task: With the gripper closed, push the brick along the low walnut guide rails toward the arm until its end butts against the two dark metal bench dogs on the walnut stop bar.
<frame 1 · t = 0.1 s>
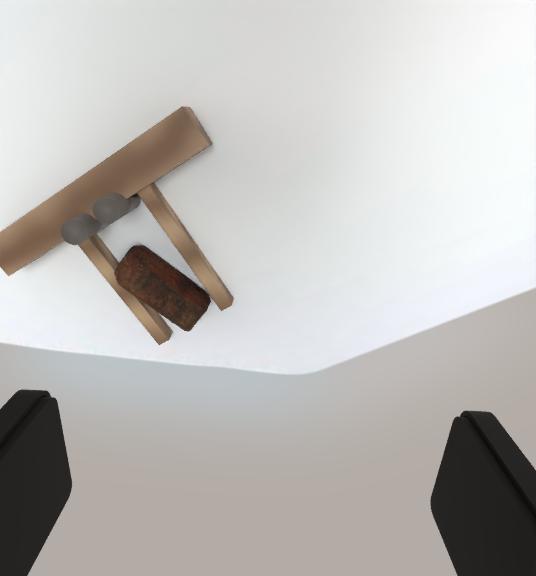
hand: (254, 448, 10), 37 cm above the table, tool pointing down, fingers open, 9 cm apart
brick: (168, 279, 48), on the table
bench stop: (103, 191, 44), on the table
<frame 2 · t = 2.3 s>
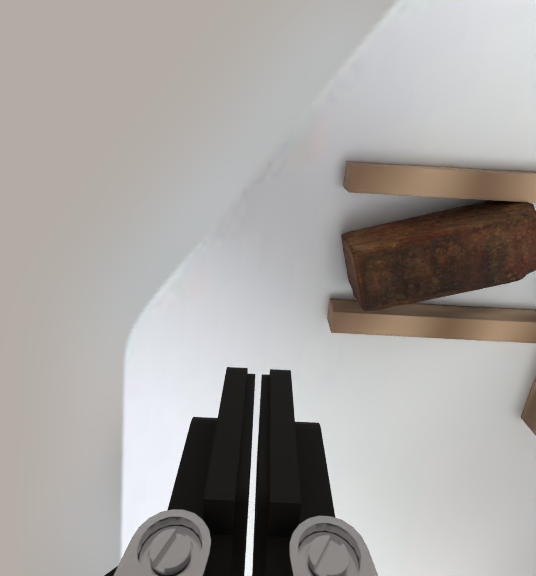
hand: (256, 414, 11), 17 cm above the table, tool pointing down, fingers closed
brick: (423, 241, 27), on the table
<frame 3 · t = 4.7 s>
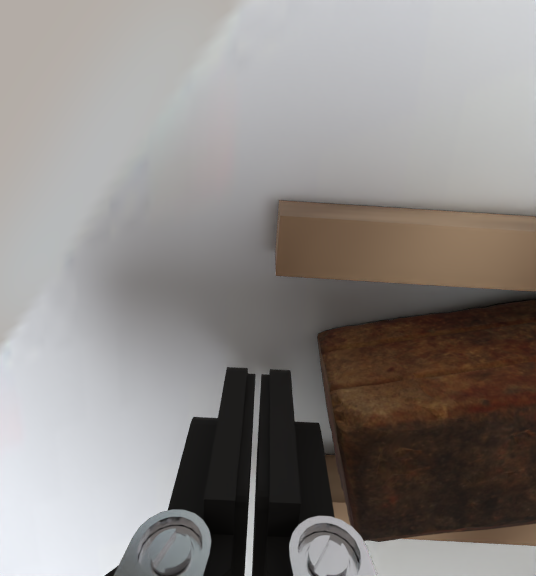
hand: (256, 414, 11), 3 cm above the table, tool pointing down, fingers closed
brick: (480, 351, 13), on the table, touching gripper
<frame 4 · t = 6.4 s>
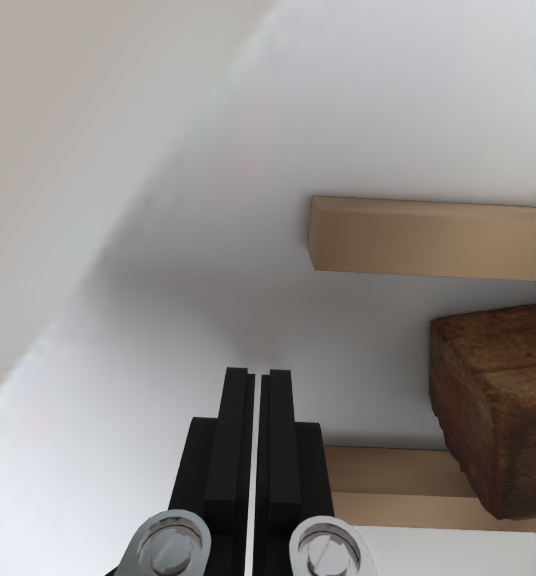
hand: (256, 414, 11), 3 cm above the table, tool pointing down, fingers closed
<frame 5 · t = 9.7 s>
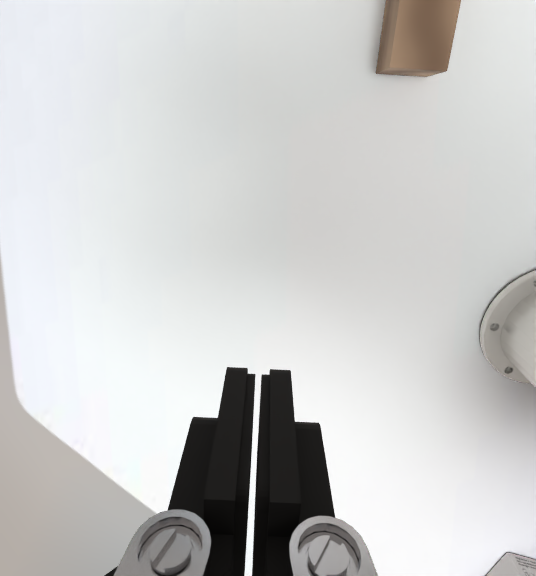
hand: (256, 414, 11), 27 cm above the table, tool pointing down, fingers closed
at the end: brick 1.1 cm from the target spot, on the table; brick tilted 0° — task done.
